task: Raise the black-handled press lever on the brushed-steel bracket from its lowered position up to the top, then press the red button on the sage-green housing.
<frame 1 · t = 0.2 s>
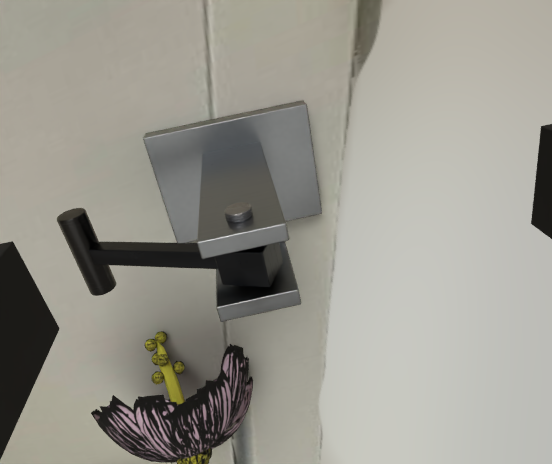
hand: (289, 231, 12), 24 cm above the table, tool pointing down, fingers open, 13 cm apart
decorative flower: (186, 360, 45), on the table
lever: (167, 254, 27), point 11 cm above the table, hinge at -25.0°
bracket: (237, 172, 36), on the table
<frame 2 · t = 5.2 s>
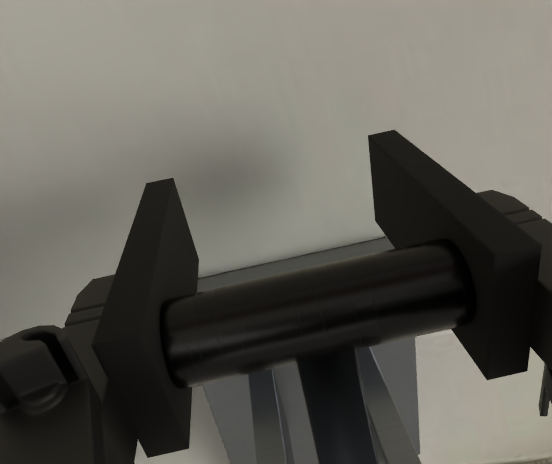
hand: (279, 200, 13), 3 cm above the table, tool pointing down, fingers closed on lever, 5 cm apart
bracket: (309, 368, 21), on the table
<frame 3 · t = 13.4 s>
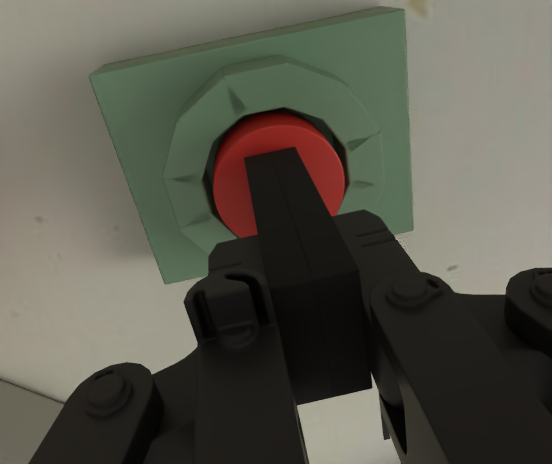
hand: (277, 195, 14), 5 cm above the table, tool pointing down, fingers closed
button: (276, 180, 15), point 4 cm above the table, slide at -0.6 cm, touching gripper
digital clock: (41, 449, 25), on the table
button box: (265, 144, 18), on the table
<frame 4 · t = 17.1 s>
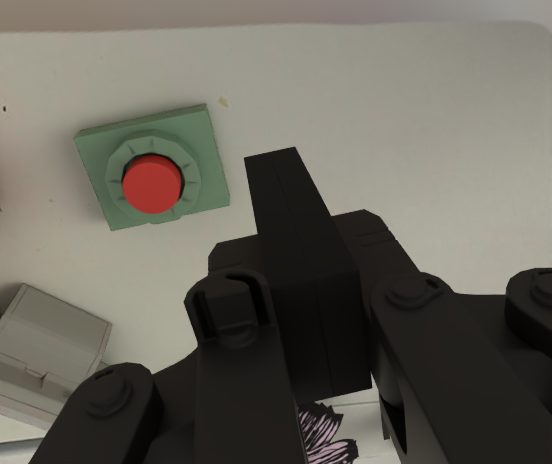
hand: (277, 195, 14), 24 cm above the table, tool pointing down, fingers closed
button: (152, 184, 34), point 4 cm above the table, slide at 0.1 cm
decorative flower: (278, 386, 51), on the table
digital clock: (50, 331, 44), on the table
button box: (158, 164, 38), on the table
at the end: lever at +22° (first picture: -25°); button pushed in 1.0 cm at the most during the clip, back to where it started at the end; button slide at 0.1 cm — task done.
